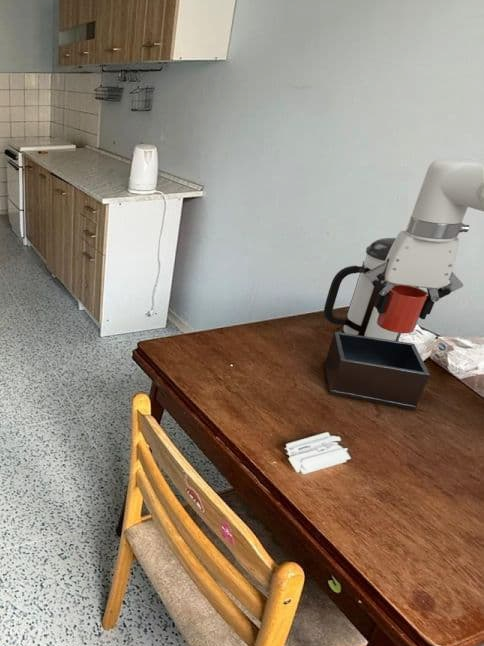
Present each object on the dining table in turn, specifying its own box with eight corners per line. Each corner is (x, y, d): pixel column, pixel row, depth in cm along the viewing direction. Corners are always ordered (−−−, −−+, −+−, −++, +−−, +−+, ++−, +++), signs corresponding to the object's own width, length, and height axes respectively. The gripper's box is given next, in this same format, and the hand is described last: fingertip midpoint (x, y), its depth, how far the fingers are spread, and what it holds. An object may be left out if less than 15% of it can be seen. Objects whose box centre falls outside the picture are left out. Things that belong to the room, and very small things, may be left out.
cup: (409, 322, 100) (423, 287, 96) (417, 335, 95) (432, 299, 91) (374, 317, 102) (386, 283, 98) (379, 330, 97) (392, 294, 93)
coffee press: (349, 322, 135) (382, 218, 120) (412, 345, 122) (457, 232, 108) (313, 339, 127) (345, 230, 113) (377, 365, 115) (421, 247, 100)
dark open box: (400, 376, 110) (414, 343, 106) (414, 410, 99) (430, 374, 95) (324, 363, 116) (334, 331, 112) (329, 393, 105) (341, 359, 101)
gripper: (483, 227, 88) (446, 312, 97) (374, 219, 95) (348, 300, 103) (498, 239, 82) (457, 328, 91) (381, 229, 89) (353, 314, 97)
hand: (399, 312), depth 97 cm, fingers closed on cup, 6 cm apart
